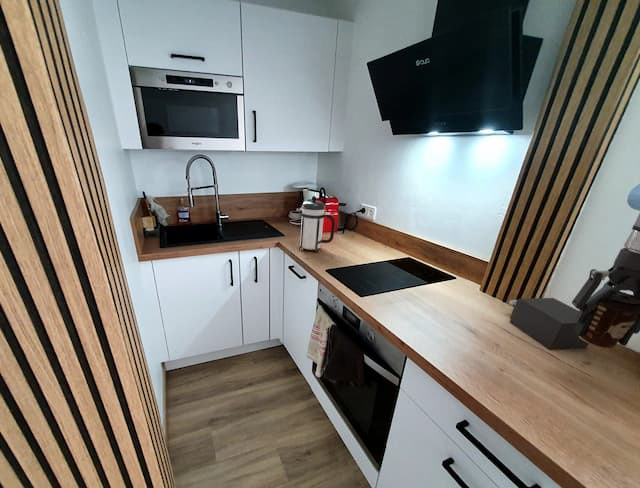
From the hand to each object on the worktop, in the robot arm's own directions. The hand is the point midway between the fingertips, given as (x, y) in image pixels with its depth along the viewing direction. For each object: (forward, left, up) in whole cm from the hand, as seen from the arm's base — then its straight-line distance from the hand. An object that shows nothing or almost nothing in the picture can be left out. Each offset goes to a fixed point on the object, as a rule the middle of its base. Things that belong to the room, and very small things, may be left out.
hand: (598, 337), depth 71 cm
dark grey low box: (0, -21, -13) cm, 25 cm away
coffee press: (+96, -63, -13) cm, 115 cm away
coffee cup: (0, 0, -1) cm, 1 cm away
